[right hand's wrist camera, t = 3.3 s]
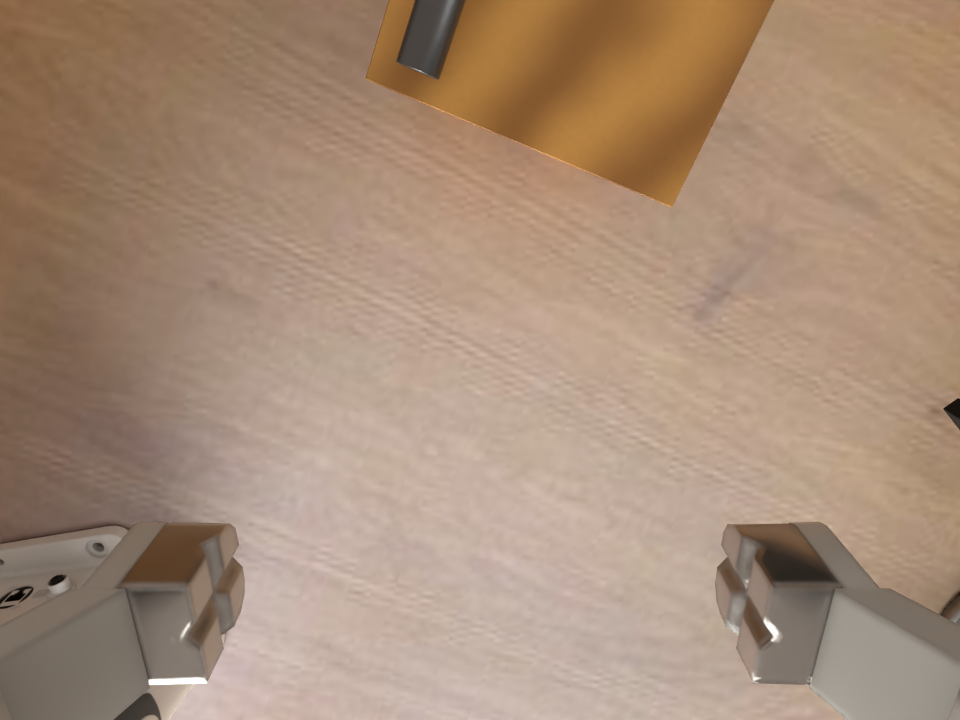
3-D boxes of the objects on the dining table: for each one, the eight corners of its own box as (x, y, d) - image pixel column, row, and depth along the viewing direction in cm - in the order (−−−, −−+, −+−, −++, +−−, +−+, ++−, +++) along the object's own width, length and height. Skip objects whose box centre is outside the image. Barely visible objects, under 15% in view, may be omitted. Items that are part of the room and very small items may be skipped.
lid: (368, 79, 29) (332, 69, 21) (440, -159, 25) (425, -265, 18) (667, 205, 31) (724, 233, 24) (768, -1, 28) (870, -41, 20)
